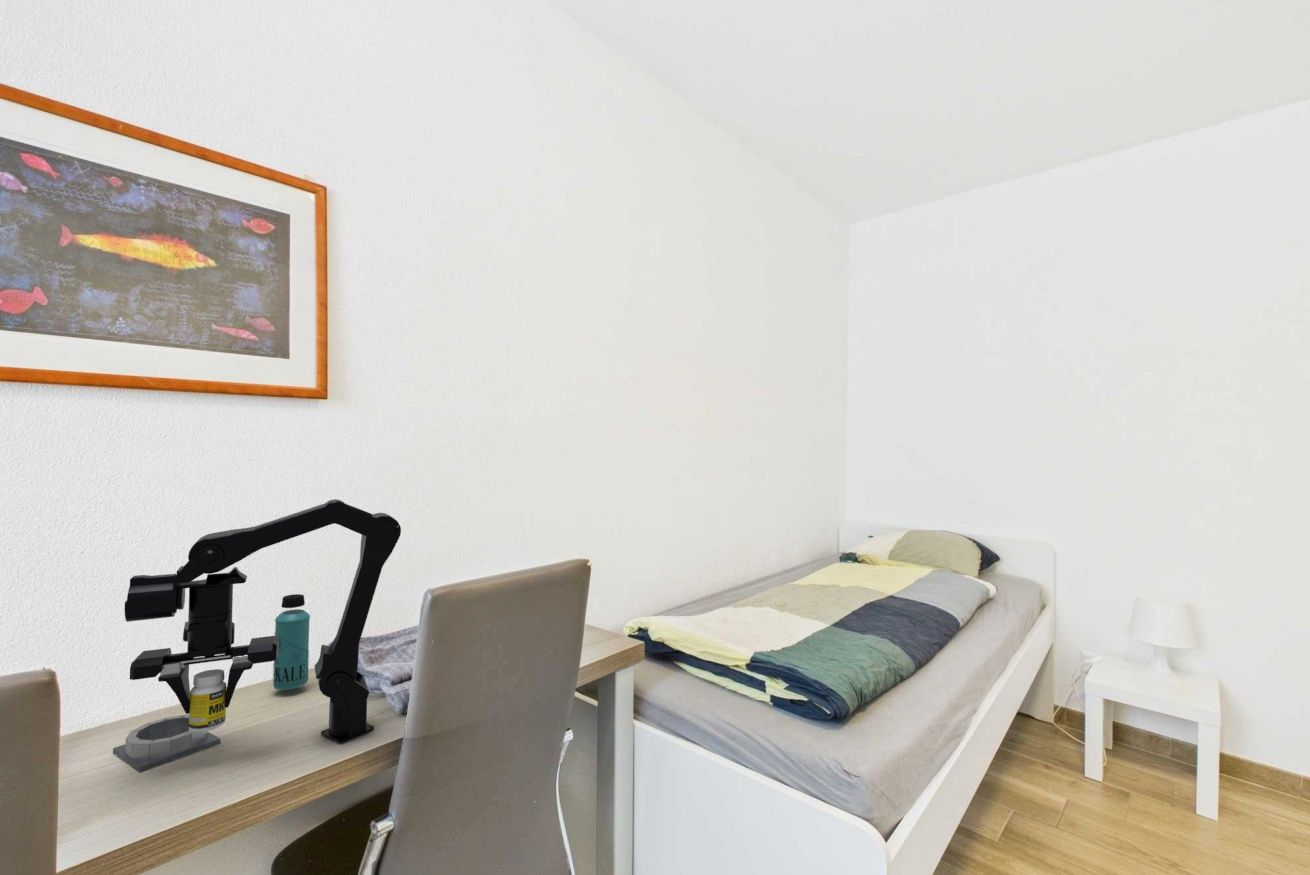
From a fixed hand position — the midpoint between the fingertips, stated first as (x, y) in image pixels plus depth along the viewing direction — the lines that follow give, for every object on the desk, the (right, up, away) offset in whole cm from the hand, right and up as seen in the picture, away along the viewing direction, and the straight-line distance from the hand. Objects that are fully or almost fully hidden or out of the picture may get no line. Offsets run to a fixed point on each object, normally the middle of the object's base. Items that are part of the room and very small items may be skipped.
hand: (208, 709), depth 96 cm
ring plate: (-10, -9, +4) cm, 14 cm away
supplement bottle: (0, -3, 0) cm, 3 cm away
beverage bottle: (-4, -9, +28) cm, 30 cm away
